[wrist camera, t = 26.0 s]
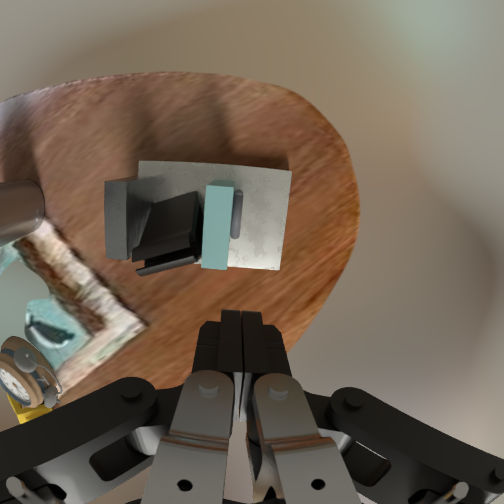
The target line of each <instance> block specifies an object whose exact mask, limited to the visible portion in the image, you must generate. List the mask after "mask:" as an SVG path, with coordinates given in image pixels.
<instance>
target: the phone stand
mask: <svg viewBox="0 0 504 504" xmlns="http://www.w3.org/2000/svg"><path fill="white" fill-rule="evenodd" d="M203 225H204V215H203V212H202V209H201V205H200V202H199V198H198V195H197V191H193V192H190V193H186V194H183V195H180V196H176V197H173V198H170V199H167V200H164V201H160V202H157V203H154V204H153V206H152V209H151V211H150V214H149V217H148V220H147V222H146V225H145V228H144V231H143V234H142V237H141V240H140V243H139V245H138V246H137V247H134V248H133V250H132V262H137V261H140V260H144V262H145V264H144V265H145V267H143V268H140V269H136V273H137V274H138V275H139V276H146V275H150V274H153V273H157V272H161V271H165V270H169V269H173V268H177V267H181V266H184V265H188V264H192V263H196V262H198V260H201V259H202V243H203Z"/></svg>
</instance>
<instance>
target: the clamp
mask: <svg viewBox="0 0 504 504" xmlns="http://www.w3.org/2000/svg"><path fill="white" fill-rule="evenodd" d="M7 396H8V399H9V401H10V403H11V405H12V407H13V409H14V411H15V413H16V415H17V417H18V419H19V422H20V424H22V423H25V422H27V421H29V420H32V419H34V418H37V417H39V416H41V415H44V414H46V413H48V412H50V411H52V408H47V407H45V405H44V404H42V405H38V406H37V407H35V408H22V405H21V404H20V403H18V402H17V401H16V400H14V399H13V398H12V397H11V396H10V395H9V394H8V393H7Z"/></svg>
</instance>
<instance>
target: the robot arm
mask: <svg viewBox="0 0 504 504" xmlns="http://www.w3.org/2000/svg"><path fill="white" fill-rule="evenodd" d="M44 210H45V205H44V198H43V195H42V192H41V190H40V188H39V186H38V185H37V184H36V183H35V182H33V181H31V180H21V181H19V180H18V179H17V180H12V181H7V182H2V183H0V247H2V246H4V245H6V244H8V243H10V242H12V241H14V240H16V239H18V238H20V237H22V236H25V235H27V234H29V233H31V232H33V231H35V230H37V229H38V228H39V226H40V225H41V223H42V221H43V217H44ZM238 409H239V421H246V422H247V433H246V447H247V453H248V460H249V466H250V472H251V478H252V484H253V503H252V504H364V503H361V501H360V498H359V496H358V494H357V492H358V493H360V494H362V495H363V496H365V497H367V498H369V499H370V500H372V501H374V502H375V503H377V504H490V503H491V502H492V501H494V500H495V499H496V498H498V497H499V496H500V495H502V494H503V493H504V459H501V458H499V457H497V456H494V455H492V454H489V453H487V452H484V451H482V450H480V449H478V448H475V447H473V446H471V445H468V444H466V443H464V442H462V441H459V440H458V439H455V438H453V437H451V436H449V435H447V434H445V433H443V432H441V431H439V430H437V429H434V428H433V427H430V426H429V425H427V424H424V423H423V422H420V421H419V420H417V419H415V418H413V417H411V416H409V415H407V414H405V413H403V412H401V411H399V410H398V409H396V408H394V407H392V406H390V405H388V404H387V403H384V402H383V401H381V400H379V399H378V398H376V397H374V396H372V395H370V394H369V393H367V392H365V391H363V390H361V389H358V388H354V387H345V388H341V389H338V390H336V391H335V392H334V393H333V394H332V396H331V397H326V396H321V395H315V394H311V393H309V392H306V391H304V390H303V389H302V387H301V385H300V383H299V382H298V381H297V380H296V379H294V378H292V374H291V370H290V366H289V362H288V359H287V354H286V351H285V346H284V343H283V339H282V335H281V332H280V331H279V330H278V329H277V328H276V327H275V326H274V325H263V321H262V315H261V312H255V311H242V313H241V311H239V310H225V309H222V312H221V322H215V321H206V322H205V323H204V324H203V325H202V326H201V327H200V331H199V336H198V341H197V346H196V351H195V357H194V362H193V368H192V373H191V375H189V376H188V377H187V378H186V380H185V382H184V383H183V384H182V385H180V386H177V387H174V388H169V389H159V390H155V388H154V386H153V385H152V384H151V383H150V382H148V381H146V380H145V379H142V378H138V377H126V378H121V379H119V380H117V381H115V382H113V383H111V384H109V385H107V386H104V387H102V388H100V389H98V390H96V391H94V392H92V393H90V394H88V395H86V396H84V397H81V398H79V399H77V400H75V401H73V402H71V403H68V404H66V405H64V406H62V407H60V408H57V409H55V410H53V411H50V412H48V413H46V414H44V415H41V416H39V417H37V418H34V419H32V420H29V421H27V422H25V423H22V424H20V425H17V426H15V427H12V428H10V429H7V430H4V431H2V432H0V504H86V503H88V502H90V501H92V500H94V499H96V498H97V497H99V496H101V495H103V494H105V493H107V492H108V491H110V490H112V489H114V488H115V487H117V486H119V485H120V484H122V483H124V482H125V481H127V480H129V479H130V478H132V477H133V476H135V475H137V474H138V473H139V472H141V471H143V470H144V469H146V468H147V467H149V466H150V465H152V466H151V470H150V473H149V477H148V480H147V483H146V486H145V490H144V493H143V497H142V499H137V500H134V501H131V502H128V503H126V504H246V503H241V502H236V501H231V500H227V499H223V496H224V486H225V476H226V466H227V456H228V446H229V438H230V436H231V434H232V426H233V421H237V418H238ZM356 441H357V442H359V443H361V444H362V445H364V446H366V447H367V448H369V449H371V450H372V451H374V452H376V453H377V454H379V455H381V456H383V457H384V458H386V459H384V458H382V457H380V456H378V455H377V454H375V453H373V452H371V451H370V450H368V449H367V448H365V447H363V446H361V445H360V444H358V443H357V442H356ZM387 459H388V460H387Z"/></svg>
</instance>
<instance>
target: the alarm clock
mask: <svg viewBox="0 0 504 504" xmlns="http://www.w3.org/2000/svg"><path fill="white" fill-rule="evenodd" d="M56 382H57V383H58V385H59V387H60V389H61V392H59V393H58V390H57V388H56V385H57V383H56ZM0 384H1V386H2V387H3V389H4V390H5V391H6V392H7V393H8V394H9V395H10V396H11V397H12V398H13V399H14V400H16V401H17V402H18V403H20V404H22V405H24V406H27V407H30V408H35V407H37V406H38V405H39V404H41V403H42V402H43V400H44V405H45V407H47V408H52V407H53V406H54V405H55V404H56V402H58V403H61V401H60V400H59V399H58V394H61V393H62V391H63V390H62V387H61V385H60V383H59V382H58V380H57V379H56V377H55V374H54V372H53V370H52V368H51V366H50V365H49V363H48V362H47V361H46V359H45V358H44V357H43V356H42V355H41V353H40V352H39V351H38V350H37V349H36V348H35V347H34V346H32V345H31V344H30V343H29V342H27V341H26V340H24V339H22V338H20V337H16V336H12V337H9V338H8V339H7V340H6V341H5V342H4V343H3V345H2V346H1V352H0Z"/></svg>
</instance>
